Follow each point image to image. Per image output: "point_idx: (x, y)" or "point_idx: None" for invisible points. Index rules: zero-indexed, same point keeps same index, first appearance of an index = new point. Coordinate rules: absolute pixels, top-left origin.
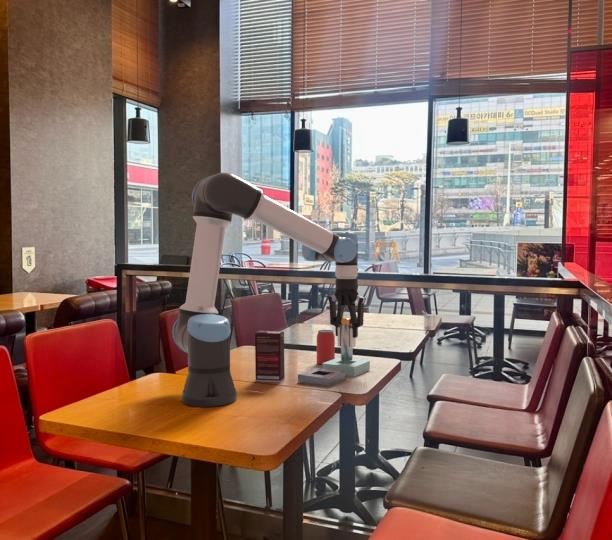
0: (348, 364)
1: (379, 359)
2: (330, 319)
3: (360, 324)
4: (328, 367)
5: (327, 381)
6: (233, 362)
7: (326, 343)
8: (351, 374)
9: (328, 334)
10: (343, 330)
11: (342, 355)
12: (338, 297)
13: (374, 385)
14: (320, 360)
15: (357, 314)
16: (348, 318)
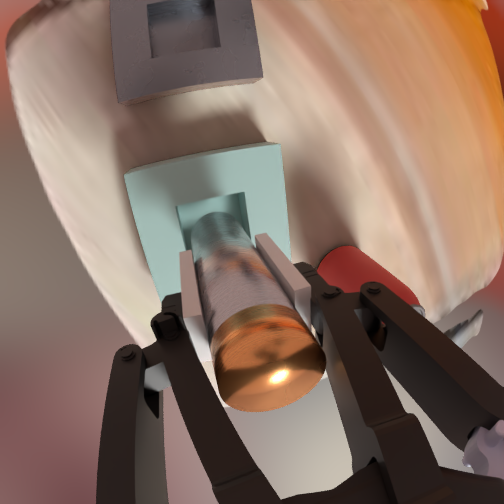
0: (177, 199)
1: None
2: (399, 299)
3: (116, 365)
4: (246, 146)
5: None
6: (484, 134)
7: None
8: (140, 167)
9: None
10: (247, 280)
11: (223, 217)
12: (461, 502)
13: (25, 140)
14: (349, 249)
15: (132, 433)
16: (267, 393)
